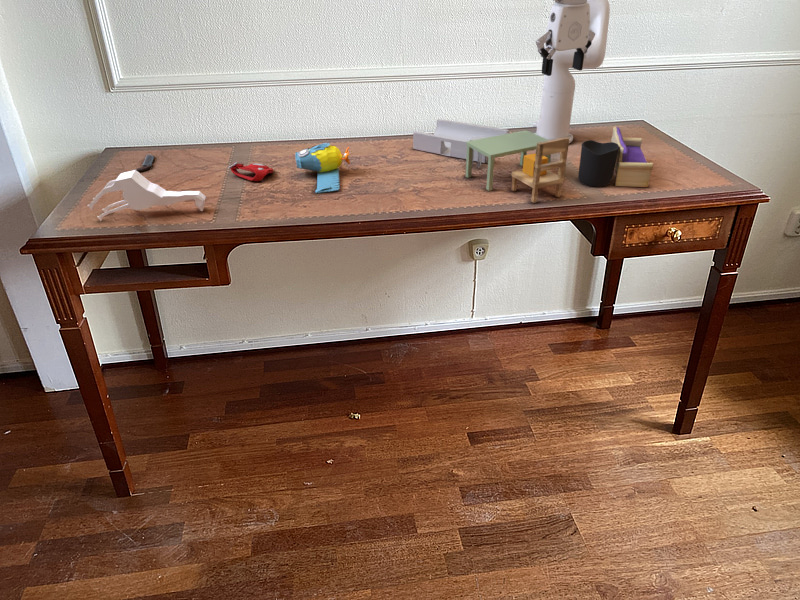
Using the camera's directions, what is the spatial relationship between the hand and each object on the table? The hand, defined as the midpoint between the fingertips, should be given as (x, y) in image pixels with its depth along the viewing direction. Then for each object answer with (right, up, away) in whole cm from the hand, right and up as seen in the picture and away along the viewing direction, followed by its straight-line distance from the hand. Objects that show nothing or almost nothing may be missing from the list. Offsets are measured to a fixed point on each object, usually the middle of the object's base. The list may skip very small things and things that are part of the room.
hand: (561, 71), depth 153 cm
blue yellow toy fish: (-63, -22, +19) cm, 69 cm away
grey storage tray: (-24, -12, +33) cm, 42 cm away
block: (-6, -25, +3) cm, 26 cm away
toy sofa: (+22, -23, +15) cm, 35 cm away
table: (-12, -24, +14) cm, 30 cm away
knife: (-117, -17, +28) cm, 122 cm away
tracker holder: (-83, -23, +19) cm, 88 cm away
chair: (-6, -30, +5) cm, 31 cm away
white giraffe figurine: (-103, -37, -2) cm, 110 cm away
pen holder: (+12, -26, +11) cm, 30 cm away
